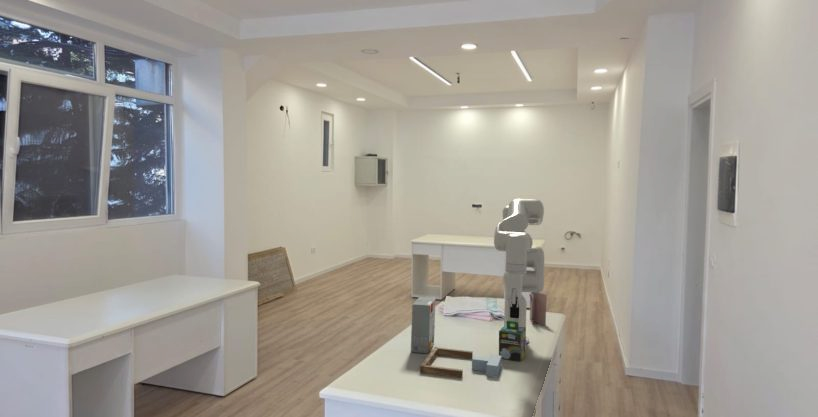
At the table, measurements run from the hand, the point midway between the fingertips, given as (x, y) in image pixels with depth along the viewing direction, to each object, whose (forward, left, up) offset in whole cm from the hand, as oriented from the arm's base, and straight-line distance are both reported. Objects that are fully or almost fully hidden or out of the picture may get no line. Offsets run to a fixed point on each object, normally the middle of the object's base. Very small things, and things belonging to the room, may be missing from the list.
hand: (514, 317), depth 194 cm
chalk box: (-18, -2, -21) cm, 28 cm away
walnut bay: (0, -24, -21) cm, 32 cm away
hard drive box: (-17, -39, -21) cm, 48 cm away
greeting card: (-74, +5, -21) cm, 77 cm away
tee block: (0, -10, -21) cm, 23 cm away
